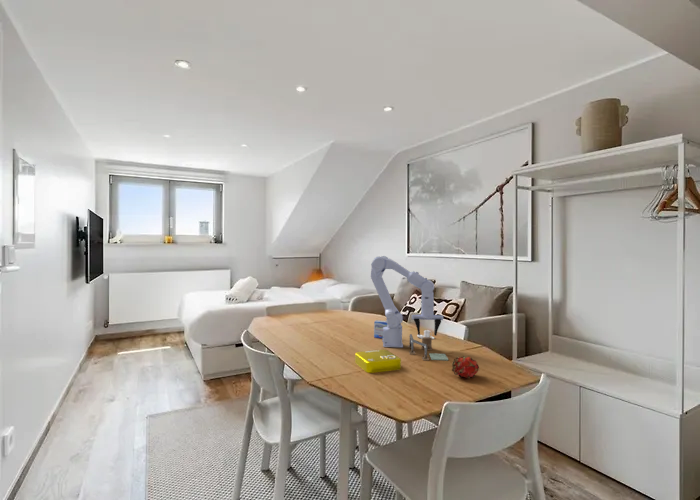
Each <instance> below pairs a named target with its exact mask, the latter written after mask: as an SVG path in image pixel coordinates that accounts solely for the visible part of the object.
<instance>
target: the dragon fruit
mask: <svg viewBox="0 0 700 500" xmlns="http://www.w3.org/2000/svg"><path fill="white" fill-rule="evenodd" d="M451 367H452V368H451V371H452V372H453V373H454V375H455V376H458V377H459V378H463V377H464V378H465V379H470V378H472V379H473V378H475V377H476V374H477V373H478V371H480V366H479V364H478V362H477V360H476V359H473V358H472V356H467V357H466V356H465V355H463V356H456V357H455V359H453V361H452V363H451Z"/></svg>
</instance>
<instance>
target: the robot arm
mask: <svg viewBox="0 0 700 500" xmlns="http://www.w3.org/2000/svg"><path fill="white" fill-rule="evenodd" d="M370 265H371V269H370V270H371V271H370V279H371V280H372V283H373V285H374V288H375V290H376V292H377V294H378V298H379V299H380V301H381V304H382V306H383V308H384V315H385V318H386V321H387V327H383V338H382V347H383V348H404V344H403V325H402V323H403V321H404V316H403V314H402V313H401V312H400V311H399V310H398V308H397V307H396V306H395V304H394V301H393V299H392V297H391V295H390V293H389V292H390V291H389V290H388V287H387V285H386V282H385V281H384V278H383V275H384V273H385V271H386V270H393V271H395V272H396V273H398V274H400V275H401V276H403V277H405V278H406V280H407V282H408V283H409V284H411V285H412V286H414V287H415V288H418V289H420V291H421V299H420V300H421V304H420V306H421V307H420V310H421V311H420V312H421V314H411V320H412V321H413V322H414V324H415V326H416V329H417V335H421V328H420V327H421V322H420V320H421V321H423V320H428V321H433V322H434V329H433V330H434V334H433V335H434V336H437V333H438V330H439V328H440V325H441V323H442V321H444V315H441V314H440V315H438V314H437V315H436V314H434V312H435V311H434V305H435V303H434V302H435V301H434V298H435V297H434V295H435V294H434V290H435V284H434V282H433V281H432V280H431V279H428V278H427V277H424V276H422V275H421V274H419V273H420V272H419V271H414V270H413V271H409V269H407V268H405V267H404V266H402V265H401V264H399V263H398V262H396V261H395V260H393V259H392V258H389V257H387V256H385V255H383V256H382V255H381V256H376V257H374V258H373V260H372V261H371V264H370Z"/></svg>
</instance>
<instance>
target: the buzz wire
mask: <svg viewBox="0 0 700 500" xmlns="http://www.w3.org/2000/svg"><path fill="white" fill-rule="evenodd" d="M414 344H417V345H418V346H419V345H420V346H421V347H422V346H424V347H425V350H424V356H422V361H427V362H429V360H430V359H429V357H428V350H427V344H424V343H422V341H418V340H416V339H414V337H413V334H411V333H410V334H409V344H408V345H407V349H410V350H409V355H411V356H413V355H414V356H415V355H416V351H414V349H415V348H414Z"/></svg>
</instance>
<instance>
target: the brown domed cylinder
mask: <svg viewBox="0 0 700 500" xmlns="http://www.w3.org/2000/svg"><path fill="white" fill-rule="evenodd" d="M432 341H433V339H432V337H423V338H422V339H421V342H422V343H424V344H427V351H432V350H433V347H432V346H433V344H432V343H433V342H432ZM421 350H422V351H425V347H424V346H422V345H421Z"/></svg>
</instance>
